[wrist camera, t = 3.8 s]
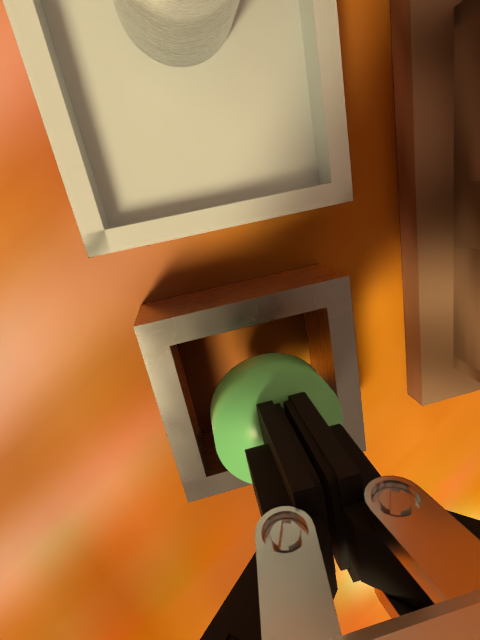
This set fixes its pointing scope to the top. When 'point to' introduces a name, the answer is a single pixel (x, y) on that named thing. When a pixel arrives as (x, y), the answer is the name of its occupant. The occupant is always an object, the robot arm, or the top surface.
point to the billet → (177, 28)
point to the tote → (188, 120)
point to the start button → (257, 387)
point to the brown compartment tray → (439, 191)
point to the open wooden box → (234, 313)
